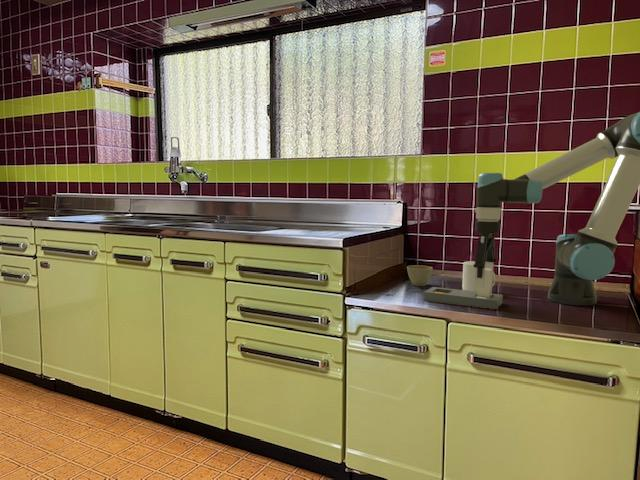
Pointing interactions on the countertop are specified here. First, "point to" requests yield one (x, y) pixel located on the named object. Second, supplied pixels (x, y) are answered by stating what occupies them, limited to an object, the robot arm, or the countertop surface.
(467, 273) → the mug
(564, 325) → the countertop surface
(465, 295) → the panel
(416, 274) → the flower pot
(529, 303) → the countertop surface
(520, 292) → the countertop surface
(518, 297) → the countertop surface
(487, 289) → the plug
